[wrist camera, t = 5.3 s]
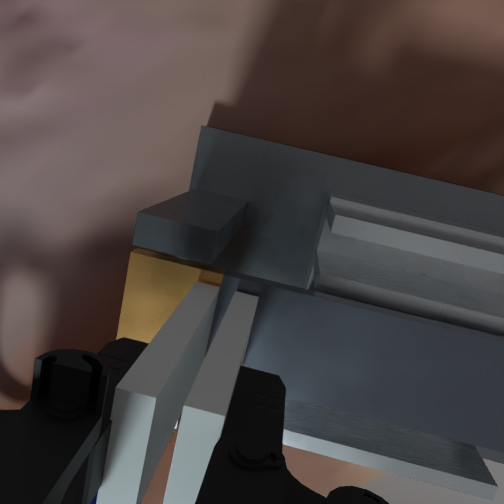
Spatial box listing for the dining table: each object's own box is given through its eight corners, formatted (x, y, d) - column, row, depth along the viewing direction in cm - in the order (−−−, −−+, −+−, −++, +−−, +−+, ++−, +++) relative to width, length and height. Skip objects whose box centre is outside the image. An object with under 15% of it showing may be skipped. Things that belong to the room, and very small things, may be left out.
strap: (123, 346, 17) (108, 364, 15) (141, 239, 16) (127, 248, 14) (651, 479, 16) (684, 511, 15) (704, 376, 15) (746, 399, 14)
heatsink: (160, 362, 24) (78, 486, 15) (206, 126, 21) (136, 113, 12) (551, 465, 23) (703, 662, 14) (656, 231, 20) (929, 298, 11)
